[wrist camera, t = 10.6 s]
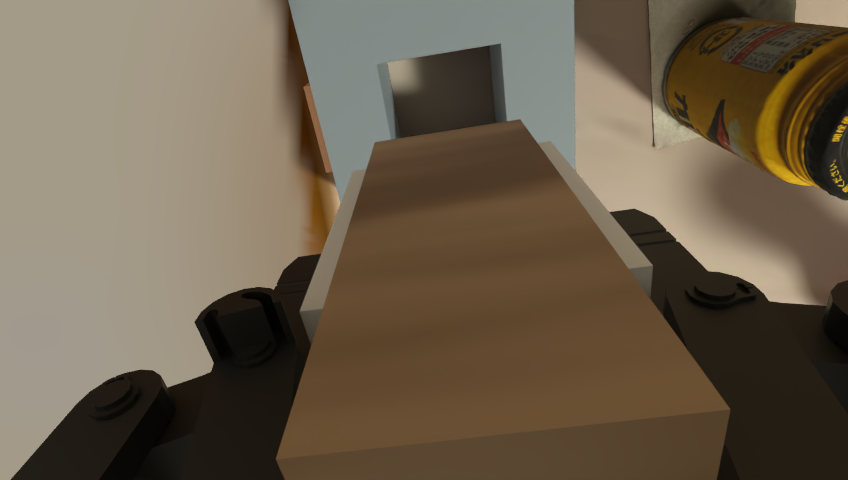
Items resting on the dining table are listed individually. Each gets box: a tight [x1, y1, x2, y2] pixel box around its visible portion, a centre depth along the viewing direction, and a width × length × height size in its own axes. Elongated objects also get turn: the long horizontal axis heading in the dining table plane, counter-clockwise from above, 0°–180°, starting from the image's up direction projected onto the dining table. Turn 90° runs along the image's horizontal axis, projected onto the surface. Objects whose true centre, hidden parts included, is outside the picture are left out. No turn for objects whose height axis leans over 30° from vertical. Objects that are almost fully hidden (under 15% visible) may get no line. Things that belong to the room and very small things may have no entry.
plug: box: [276, 119, 730, 480], centre depth 10 cm, size 4×4×10 cm
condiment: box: [648, 0, 848, 200], centre depth 21 cm, size 7×8×12 cm
